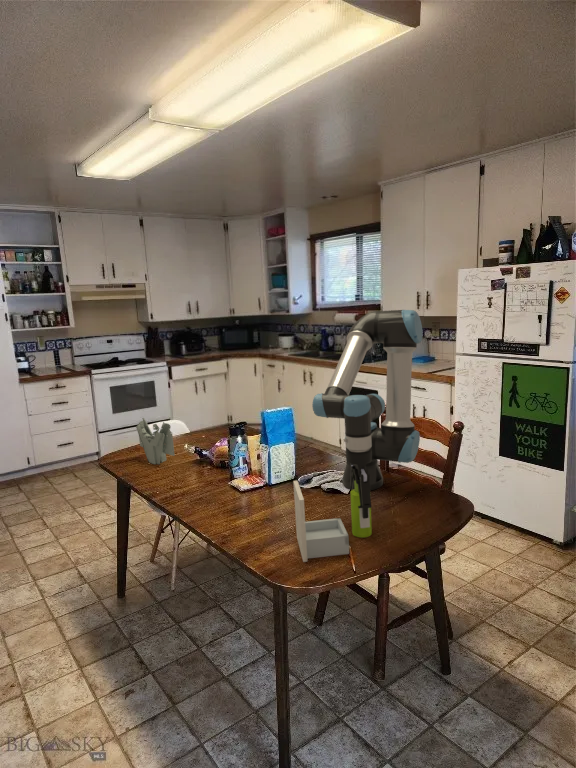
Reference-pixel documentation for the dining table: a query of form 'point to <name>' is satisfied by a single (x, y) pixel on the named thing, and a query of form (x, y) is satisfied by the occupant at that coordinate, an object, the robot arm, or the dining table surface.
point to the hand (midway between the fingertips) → (361, 520)
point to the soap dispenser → (358, 515)
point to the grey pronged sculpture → (156, 441)
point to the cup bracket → (318, 533)
